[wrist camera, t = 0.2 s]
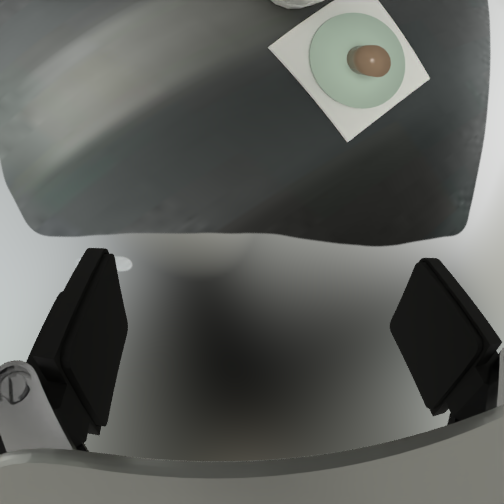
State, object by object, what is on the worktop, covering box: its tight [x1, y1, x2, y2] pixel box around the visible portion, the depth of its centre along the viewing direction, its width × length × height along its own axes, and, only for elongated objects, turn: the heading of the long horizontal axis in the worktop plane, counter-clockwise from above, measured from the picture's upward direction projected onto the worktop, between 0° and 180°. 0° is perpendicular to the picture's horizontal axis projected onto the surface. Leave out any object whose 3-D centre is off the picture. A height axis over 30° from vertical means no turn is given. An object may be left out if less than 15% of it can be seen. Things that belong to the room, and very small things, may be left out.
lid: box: [309, 13, 405, 109], centre depth 29 cm, size 12×12×5 cm
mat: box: [268, 0, 430, 142], centre depth 31 cm, size 15×15×1 cm
